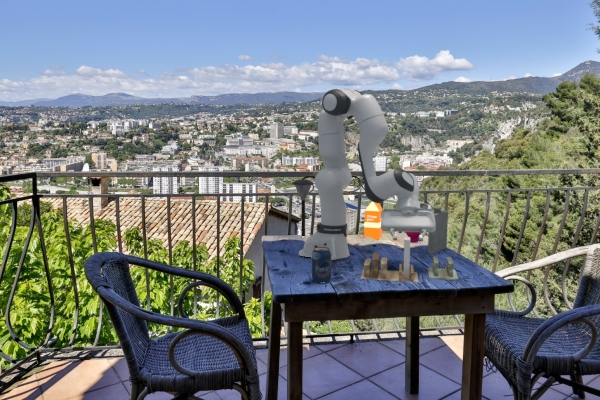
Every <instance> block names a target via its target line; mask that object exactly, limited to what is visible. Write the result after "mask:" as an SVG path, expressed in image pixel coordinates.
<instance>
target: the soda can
mask: <svg viewBox="0 0 600 400" xmlns="http://www.w3.org/2000/svg"><path fill="white" fill-rule="evenodd" d="M311 278H312V280H314V281H315V282H314V281H313V282H314V283H316V282H322V283H321V284H324V283H323V282H328V283H329V282H330V281H331V279H332V260H331V252H330V249H329V248H327V247H316V248H314V250H313V252H312V258H311Z"/></svg>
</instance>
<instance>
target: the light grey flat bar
mask: <svg viewBox="0 0 600 400" xmlns="http://www.w3.org/2000/svg"><path fill="white" fill-rule="evenodd" d="M403 239H404V240H403V241H404V242H403V269H402V271H403V278H409V272H410V259H411V242H410V237H408V236H404V238H403Z"/></svg>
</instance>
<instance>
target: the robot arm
mask: <svg viewBox="0 0 600 400" xmlns="http://www.w3.org/2000/svg"><path fill="white" fill-rule="evenodd" d="M321 106H322V110H321V111H320V112H319V114H318V121H317V134H318V135H317V136H318V152H319V155H320V156H319V157H321V160H322V163H323V167H324V168H323V169H321V170H319V171H318V172H317V174H316V176H315V177H314V183H315V184H314V186H315V188H316V189H317V192H318V197H319V202H320V222H317V223H316V232H314V233H312V234H311V235H310V236H309V237H308V238H306V239H305V241H304V244H303V248H302V249H300V250H299V251H298V256H299V255H300V256H305V257H311V258H310V259H312V252H313V250H314V248H316V247H327V248H329V249H330V252H331V261H334V260H338V259H339V260H340V259H345V258H348V257H350V256H351V254H350V250H349V247H348V245H349V244H348V232H349V231H348V223H347V204H346V201H345V197H344V190H345V189H347V188H348V187H349V186H350V184H351V182H352V179H353V176H352V172H351V171H350V167H349V162H348V159H347V158H348V157H347V154H346V144H345V134H344V133H345V130H344V123H345V120H346V119H348V120H351V119H352V118H354V119H355V121H356V125H357V127H358V131H359V141H358V142H357V153H358V160H359V163H360V168H361V173H362V177H363V178H362V179H363V184H364V185H363V186H364V187H363V188H364V194H365V196H366V199H368V200H369V201H371V202H375V203H379V204H381V203H383V202H384V201H387V200H388V199H390V198H393V197H396V199H397V200H396V205H395V206H396V209H387V208H386V209H384V210H383V209H382V212H381V218H382V220H381V229H382V232H389V234H390V235H391V237H392V241H398V234H395V232H397V233H398V232H400V233H402V232H403V233H406V232H421V235H419V242H424V237H425V236H426V234H427V233H429V232H434V231H435V230H436V222H435V217H434V214H433V213H434V211H433V210H432V209H433V208H432V204H431V205H430V204H427V203H425V202H421V201H420V200H419V197H420V185H419V181H418V178H417V176H416V175H415V174H413V173H410V172H409V171H406V170H405V169H403V168H400V167H395V168H393V169H390V170H389V171H387V172H384V173H383V174H381V175H378V176H377V173H376V168H375V164H374V163H375V162H374V159H373V157H374V153H375V151H376V150H377V148H378V147H379V146H380V144H381V143H382V142H383V141H384V140H385V139H386V137H387V134H388V130H389V126H388V122H387V119H386V117H385V115H384V112H383V110H382V108H381V106H380V103H378V100H377V99H376V98H375V96H374V95H372V94H370V93H363V92H362V91H360V90H357V89H356V90H355V89H351V88H342V89H341V88H340V89H338V88H333V89H330V90H328V91H326V92H325V93H324V95H323V96H322V100H321ZM300 256H299V257H300Z"/></svg>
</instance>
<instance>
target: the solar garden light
mask: <svg viewBox="0 0 600 400" xmlns="http://www.w3.org/2000/svg"><path fill="white" fill-rule="evenodd" d="M291 185H293V186H294V187H295V189H296V191H297V193H298V195H299V198H300V200H301V205H300V206H301V209H300V210H301V214H300V215H301V237H302V236H305V237H306V198H307V197H308V194H309V192H310V190H311V187H312V185H314V186H315V182H313V181H312V180H310V179H296V180H294V182H292V183H291Z"/></svg>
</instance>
